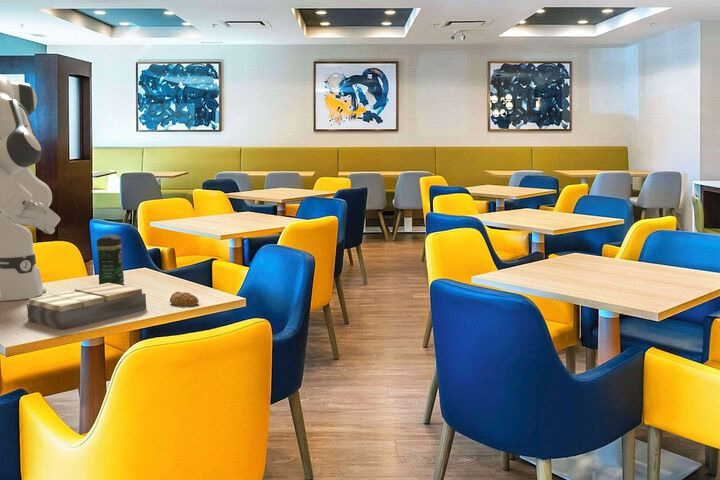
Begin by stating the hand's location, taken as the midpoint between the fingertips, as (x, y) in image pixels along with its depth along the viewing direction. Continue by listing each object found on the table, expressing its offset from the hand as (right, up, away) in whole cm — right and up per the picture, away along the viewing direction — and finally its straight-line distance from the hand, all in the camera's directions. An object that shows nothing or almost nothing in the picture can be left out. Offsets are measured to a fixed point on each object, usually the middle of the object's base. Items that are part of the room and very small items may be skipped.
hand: (51, 232), depth 201 cm
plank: (+12, -19, +13) cm, 26 cm away
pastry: (+34, -23, +21) cm, 46 cm away
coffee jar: (0, -19, +51) cm, 54 cm away
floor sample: (+8, -25, +8) cm, 27 cm away
